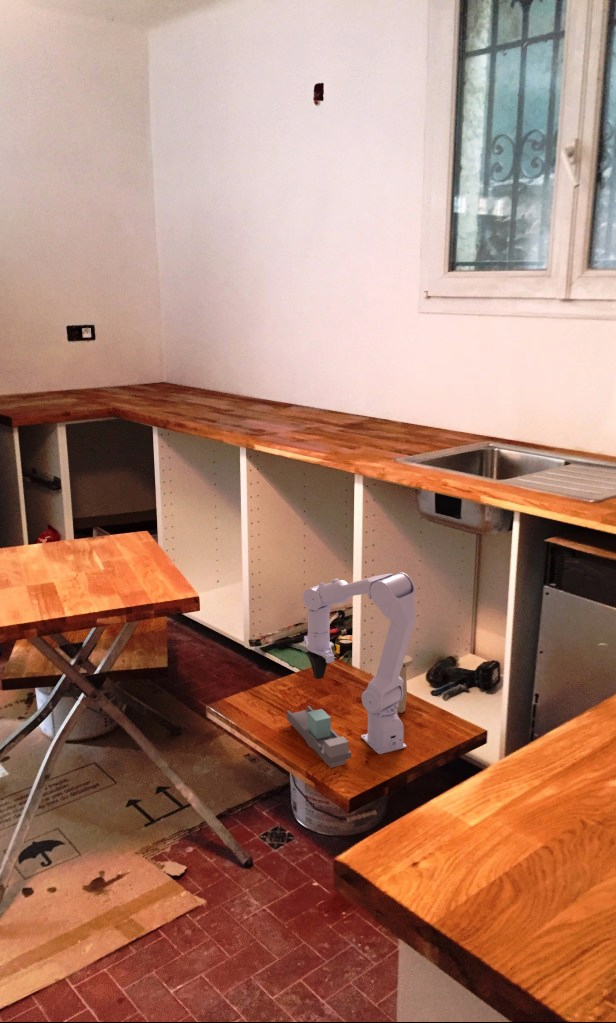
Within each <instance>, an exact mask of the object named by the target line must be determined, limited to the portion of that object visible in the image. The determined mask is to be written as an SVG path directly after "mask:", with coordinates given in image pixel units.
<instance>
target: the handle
mask: <svg viewBox="0 0 616 1023" xmlns="http://www.w3.org/2000/svg"><path fill="white" fill-rule="evenodd" d="M412 664H413V658H412V657H411V656H410V655H408V654H407V655H406V654H405V658H404V661H403V665H402V668H401V672H400V675H399V676H400V677H401V678H402V679H403V681H404V683H403V698H402V700H401V701H399V703H398V707H397V714H399V713H400V714H402V713H404V712H405V711H406V705H407V699H408V698H407V696H408V689H407V688H408V687H407V686H408V685H407V668H408V667H410V666H412Z"/></svg>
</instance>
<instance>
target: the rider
mask: <svg viewBox="0 0 616 1023" xmlns="http://www.w3.org/2000/svg"><path fill="white" fill-rule="evenodd" d="M331 729H332V717H331V716H330V715H329V714H328V713H327V712H326V711H325V710H324V709H323V708H319V709H314V711H310V712H308V731H309V732H310V733H311V734H312V735H313V737H314V738H315V739H320V738H324V737H329V736H331Z"/></svg>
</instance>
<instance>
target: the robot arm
mask: <svg viewBox="0 0 616 1023" xmlns="http://www.w3.org/2000/svg"><path fill="white" fill-rule="evenodd" d="M416 593H417V587H416V585H415V584H414V581H413V580H412V578H411V576H409V574H407V573H405V572H401V571H400V572H397V573H395V574H394V573H385V574H379V575H374V576H370V577H367V578H363V579H361V580H357V581H356V580H355V581H353V582H349V583H348V582H347V581H346V580H344V579H340V580H339V578H334V579H331V581H330V582H329V583H325V582H321V583H318V584H317V585H315V586H312V587H309V588H306V589H305V590H304V591H303V593H302V602H303V604H304V606H305V608H306V609H307V635H303V636H304V637H303V643H304V644H305V645H306V649H307V650H308V651H306V652H305V655H306V656H307V657H308V660H309V662H310V665H311V669H312V674H313V676H314V678H315V679H316V680H320V679H321V680H322V679H324V676H325V673H326V669H327V666H328V664H331V663H335V654H334V652H333V650H332V648H333V647H334V643H333V642H332V641H330V635H331V634H330V631H331V630H330V625H331V624H330V621H331V620H330V611H331V610H332V606H336V605H339V604H344V603H348V602H349V601H350V600H351V598H352V597H354V596H360V595H365V594H367V597H368V599H369V600H372V602H373V603H374V605H376V607H377V608H378V609H379V610H380V612H381V613H382V614H383V615H384V616H385V617H386V619H388V620H390V623H389V627H388V630H387V634H386V638H385V641H384V645H383V649H382V654H381V657H380V659H379V664H378V668H377V670H376V674H375V675H374V676H373V677H372V679H371V680H370V681H369V682H368V684H367V687H366V689H365V690H363V692H362V693H361V702H362V705H363V708H364V709H365V711H366V712H367V733H366V734H365V733H364V734H362V735H360V737H361V739H362V740H364V742H365V743H366V744H367V745H368V746H370V747H371V749H373V751H374V752H375V753H377V754H378V755H381V754H382V755H383V754H385V753H386V754H387V753H390V752H394V751H399V750H401V749H405V748H407V744H406V743H404V732H405V731H404V730H405V729H404V728H405V727H404V723H403V721H402V720H401V718H400V717H399V713H397V707H398V703H399V701H401V700H402V698H403V683H404V681H403V679H402V678H401V677H400V676H399V675H400V672H401V668H402V665H403V661H404V658H405V655H406V654H407V650H408V647H409V644H410V641H411V640H410V639H411V637H412V632H413V630H414V626H415V622H416V618H417V617H416V608H415V596H416Z"/></svg>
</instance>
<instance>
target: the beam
mask: <svg viewBox="0 0 616 1023" xmlns="http://www.w3.org/2000/svg"><path fill="white" fill-rule="evenodd" d="M310 711H315V709H314V708H312V707H311V706H310V705H307V706H306V709H304V710H301V711H295V712H291V711H290V710H286V720H287V721H288V722H289V723H290V725H291V726H292V727H293V728H294V729H295V731H297V732H298V734H299V735H300V736H301V737H302V738H303V739H304V740H305V743H306V744H307V745H308V747H309V749H313V750H314V752H316V753H317V755H318V756H319V757H320V758H321V759H322V761H324V763H325V764H326V765H327V766H329V767H330V769H332V768H336V767H339V766H343V765H346V764H347V760H349V759H352V751H351V750H350V749H349V747H350V744H349V742H350V741H348V739H347V738H345V737H344V736H343V735H342V736H340V735H338V733H337V732H336V731H335V730H334V729H332V728H331V736H329V737H324V738H320V739H315V738H314V737H313V735H312V734H311V733H310V732H309V731H308V712H310Z"/></svg>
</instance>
